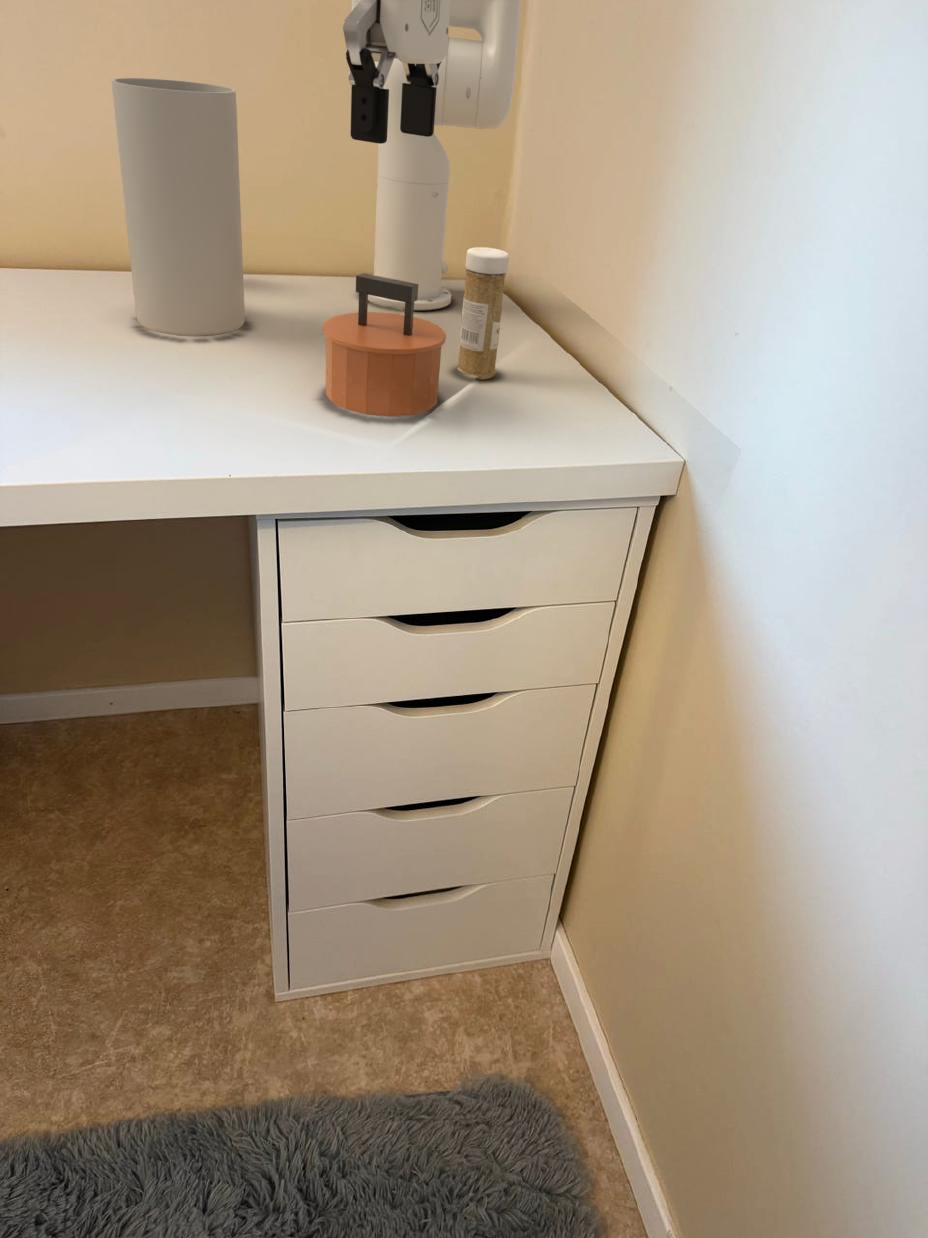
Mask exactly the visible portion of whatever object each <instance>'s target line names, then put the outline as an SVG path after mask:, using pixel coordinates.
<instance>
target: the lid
mask: <svg viewBox="0 0 928 1238" xmlns="http://www.w3.org/2000/svg"><path fill="white" fill-rule="evenodd" d="M355 293H358V312H351V313H344V314H339V315H336V316H332V317H330V318H328V319H327V320H325V321H324V323H323V325H322V333H323V335H324V336H325V338H326V337H327V338H328V339H330V340H331V341H333V342H335V343H337V344H339V345H342V346H345V347H348V348H352V349H356V350H361V351H366V352H373V353H383V354H414V353H422V352H427V351H431V350H434V349H437V348H439V347H441V348H442V347H443V346H444V344H446V340H447V334H446V331H445V330H444V329H443V328H442V327H440V326H439V325H438V324H435V323H434V322H431V321H429V320H426V319H423V318H418V317H416V316H414V311H415V310H414V302H415V301H417V299H418V284H415V283H410V282H405V281H400V280H395V279H390V278H385V277H380V276H375V275H374V274H370V273H364V272H363V273H360V274H357V275H355ZM368 295H372V296H377V297H382V298H387V299H392V300H397V301H401V302H405V309H404V314H400V313H393V312H392V313H390V312H379V311H377V312H376V311H375V312H374V311H369V309H368V308H369V307H368V306H369V305H368V304H369V301H368Z"/></svg>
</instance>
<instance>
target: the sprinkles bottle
mask: <svg viewBox="0 0 928 1238" xmlns="http://www.w3.org/2000/svg"><path fill="white" fill-rule="evenodd" d="M509 255H510V254H509V253H508V252H506V251H505V250H502V249H498V248H493V247H485V246H479V247H478V246H477V247H470V248H468V249H467V251H466V256H465V268H466V270H465V272H466V275H465V285H464V295H463V298H462V299H463V300H462V310H461V311H462V312H461V323H460V335H459V352H458V353H459V354H458V363H457V364H458V365H457V367H456V369H457V370H458V372H460V373H462V374H465V375H468V376H474V377H476V378H475V380H476V381H477V380H483V381H484V380H490V379H492V378H493V377H495V376H496V373H497V371H496V364H497V355H498V354H497V353H498V347H499V340H500V330H501V323H502V321H501V320H502V311H503V296H504V289H505V288H504V287H505V280H506V279H505V278H506V275H507V272H508V270H509V262H510V261H509V260H510V256H509Z"/></svg>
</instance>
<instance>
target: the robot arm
mask: <svg viewBox="0 0 928 1238" xmlns="http://www.w3.org/2000/svg"><path fill="white" fill-rule="evenodd" d="M521 10H522V0H351V12H349V14H348V15H347V17H345V19H344V20H343V24H342V30H343V36H344V42H345V47H346V51H345V58H346V63H347V65H348V67H349V72H348V82H349V85H351V90H350V91H351V94H350V95H351V96H350V138H351V139H352V140H355V141H359V142H360V141H361V142H367V143H372V144H377V175H376V199H375V200H376V203H375V224H374V225H375V227H374V254H373V255H374V256H373V257H374V258H373V275H375V276H380V277H385V278H390V279H395V280H400V281H405V282H410V283H415V284H418V299H417V301H415V302H414V311H431V310H432V311H433V310H439V309H442V308H446V307H447V306H449V305H450V304H451V302H452V293H451V292H450V291H449V289H446V288H445V287H443V286H442V279H443V275H445V274H447V272H448V270H449V269H448V268H449V266H448V264H447V263H446V261H444V253H445V241H446V227H447V216H448V215H447V214H448V200H449V190H450V189H449V188H450V178H451V177H450V176H451V166H450V165H451V164H450V161H449V157H448V154H447V152H446V149H445V148H444V147H443V145H442V143H441V142H440V140H439V139H438V136H437V135H436V134H435V126H446V127H458V128H465V129H474V130H475V129H476V130H495V129H498V128H500V127H502V126H503V125H504V124H505V123H506V121H507V119H508V117H509V115H510V113H511V112H510V111H511V107H512V103H513V95H514V87H515V78H516V77H515V76H516V64H517V54H518V45H519V44H518V43H519V31H520V20H521V12H522V11H521ZM450 27H452V28H453V27H454V28H462V29H470V30H474V31H476V32H477V33H478V34H479V35H480V37H481V40H478V39H477V40H476V39H468V38H459V37H450V36H449V31H450V30H449V28H450ZM368 302H369V303H372V304H377V305H381V306H385V307H390V308H395V309H400V310H405V302H401V301H397V300H392V299H387V298H382V297H377V296H372V295H368Z"/></svg>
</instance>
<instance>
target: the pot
mask: <svg viewBox="0 0 928 1238" xmlns="http://www.w3.org/2000/svg"><path fill="white" fill-rule="evenodd" d="M441 355H442V346H441V347H439V348H437V349H434V350H431V351H427V352H422V353H414V354H383V353H373V352H366V351H361V350H356V349H352V348H348V347H345V346H342V345H339V344H337V343H335V342H333V341H331V340H330V339H328V338H327V337H326V336H325V396H326V397H327V398H328V399H329V401H330V402H331V403H332V404H334V405H337V406H338V407H340V408H342V409H345V410H347V411H352V412H355V413H359V414H362V415H368V416H378V417H379V416H380V417H402V416H414V415H418V414H420V413H421V414H422V413H425V412H428V411H429V410H431V409H432V408H434V407H435V406H436V405H437V404H438V394H439V381H440V368H441V357H442V356H441ZM434 411H435V408H434V409H433V410H431V411H430V412H429V413H428V415H430V414H432V413H433V412H434Z"/></svg>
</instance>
